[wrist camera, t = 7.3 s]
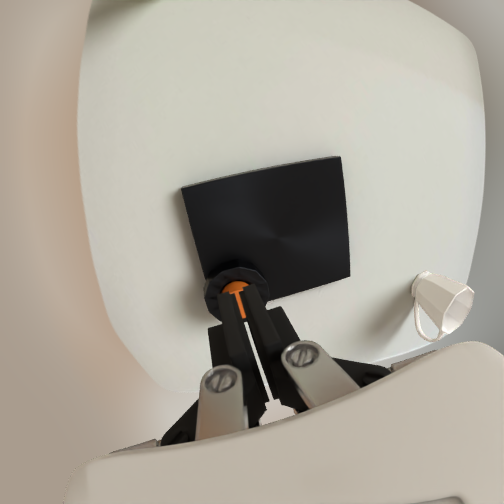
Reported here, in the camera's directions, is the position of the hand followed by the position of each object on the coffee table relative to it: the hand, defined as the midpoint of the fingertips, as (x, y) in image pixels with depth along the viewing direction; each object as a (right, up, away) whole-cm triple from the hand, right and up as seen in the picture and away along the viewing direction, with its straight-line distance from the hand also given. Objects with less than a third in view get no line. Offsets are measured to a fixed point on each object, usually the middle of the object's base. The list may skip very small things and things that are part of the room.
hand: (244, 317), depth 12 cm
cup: (+24, -3, +23) cm, 34 cm away
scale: (+2, +5, +15) cm, 16 cm away
